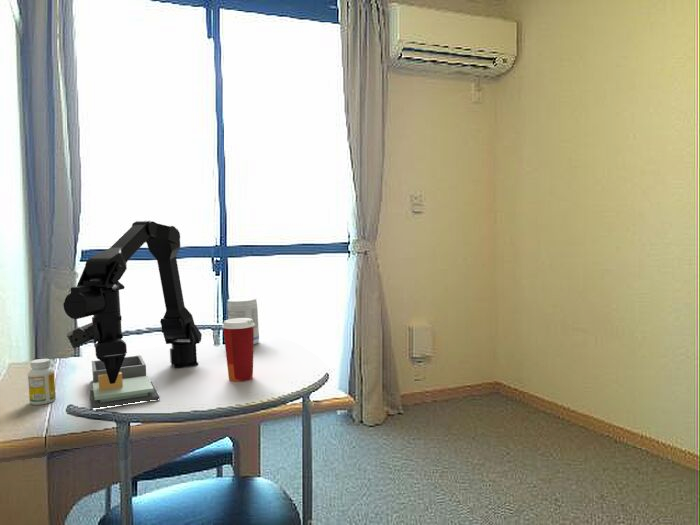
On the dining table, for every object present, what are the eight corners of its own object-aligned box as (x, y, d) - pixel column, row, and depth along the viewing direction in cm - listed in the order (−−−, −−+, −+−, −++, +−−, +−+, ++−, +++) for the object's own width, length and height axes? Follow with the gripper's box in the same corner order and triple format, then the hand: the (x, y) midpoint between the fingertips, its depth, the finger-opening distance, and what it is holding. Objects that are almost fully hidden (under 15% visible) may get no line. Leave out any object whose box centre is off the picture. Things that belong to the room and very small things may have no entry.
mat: (151, 385, 147) (151, 381, 147) (159, 400, 135) (159, 396, 135) (90, 394, 141) (90, 390, 141) (92, 410, 129) (91, 406, 129)
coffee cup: (262, 375, 154) (260, 317, 152) (247, 384, 146) (244, 323, 145) (234, 373, 156) (231, 317, 155) (217, 381, 149) (214, 322, 147)
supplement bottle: (35, 406, 133) (32, 364, 132) (25, 402, 136) (22, 361, 136) (60, 400, 137) (57, 359, 136) (50, 396, 140) (47, 356, 140)
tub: (141, 373, 159) (140, 355, 159) (146, 384, 148) (145, 364, 148) (93, 380, 154) (91, 361, 154) (94, 391, 143) (93, 371, 143)
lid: (147, 382, 146) (146, 363, 146) (154, 395, 135) (152, 375, 135) (93, 390, 141) (91, 370, 140) (94, 404, 130) (93, 383, 129)
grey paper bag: (250, 339, 200) (248, 295, 199) (264, 343, 193) (262, 298, 191) (223, 343, 194) (221, 299, 193) (238, 348, 187) (236, 302, 185)
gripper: (67, 309, 140) (72, 374, 142) (67, 321, 124) (72, 394, 125) (118, 305, 145) (122, 367, 146) (124, 315, 128) (129, 386, 129)
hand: (111, 378), depth 137 cm, fingers open, 9 cm apart
